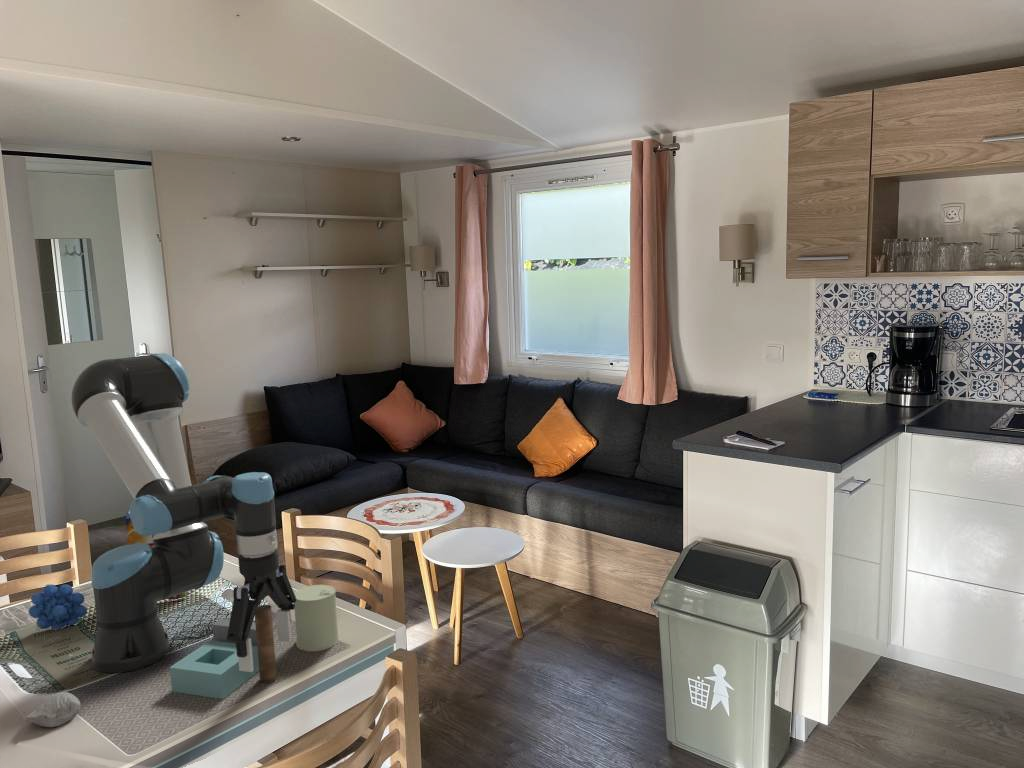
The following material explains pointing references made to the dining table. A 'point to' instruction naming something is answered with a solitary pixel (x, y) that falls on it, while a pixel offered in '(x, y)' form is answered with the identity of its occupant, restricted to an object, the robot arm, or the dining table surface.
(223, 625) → the wall
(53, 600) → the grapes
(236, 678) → the block
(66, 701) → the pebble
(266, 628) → the dowel
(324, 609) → the can
